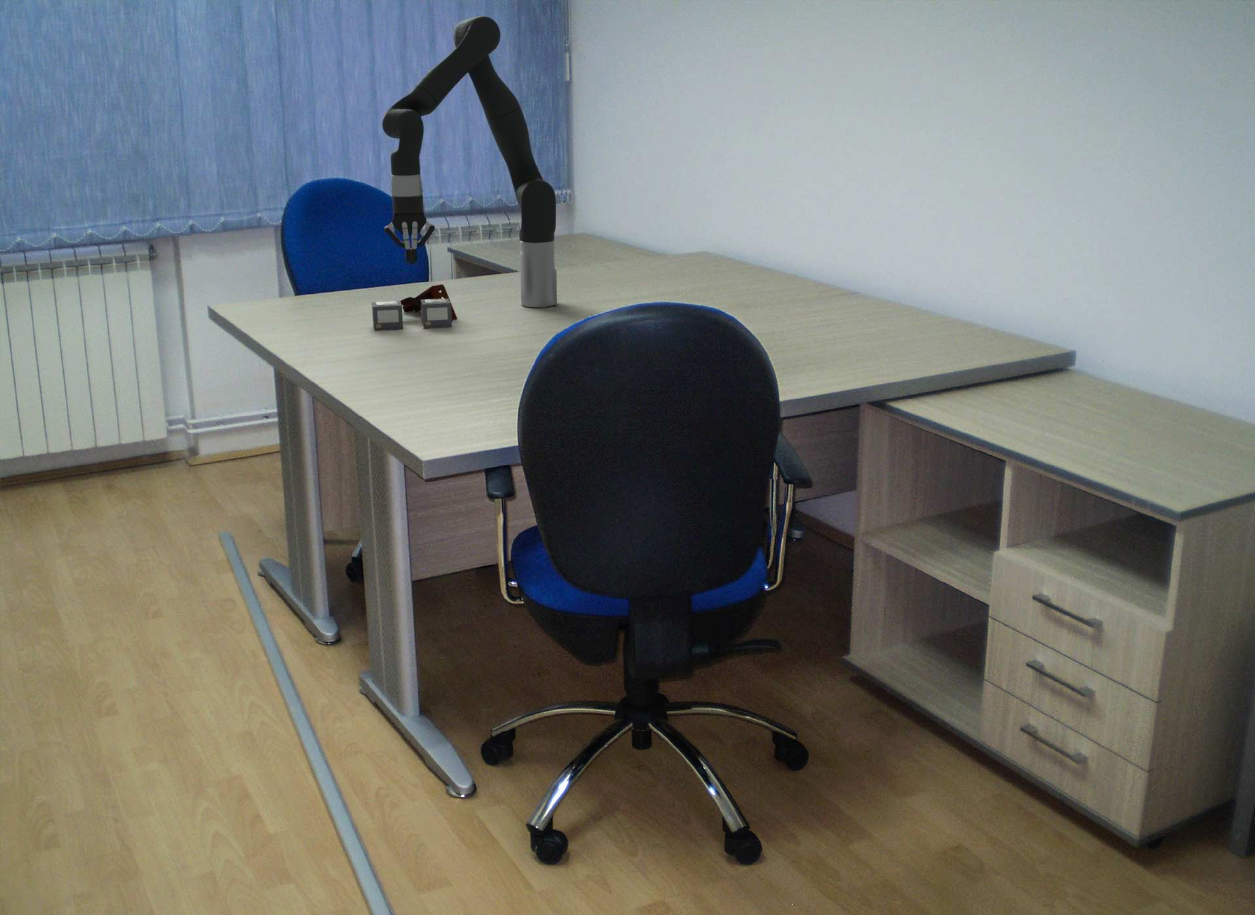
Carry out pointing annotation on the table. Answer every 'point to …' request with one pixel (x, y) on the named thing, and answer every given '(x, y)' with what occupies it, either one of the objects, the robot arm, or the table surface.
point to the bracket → (431, 293)
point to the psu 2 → (436, 313)
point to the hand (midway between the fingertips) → (411, 263)
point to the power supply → (387, 315)
